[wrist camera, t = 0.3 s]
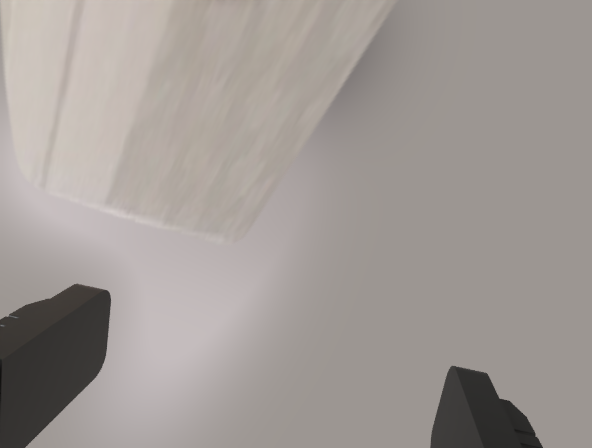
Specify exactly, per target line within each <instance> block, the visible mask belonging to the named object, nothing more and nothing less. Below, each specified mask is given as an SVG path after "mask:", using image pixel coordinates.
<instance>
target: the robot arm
mask: <svg viewBox="0 0 592 448" xmlns="http://www.w3.org/2000/svg"><path fill="white" fill-rule="evenodd" d="M110 306H111V298H110V293H109V292H108V291H107V290H103V289H99V288H94V287H89V286H84V285H79V284H74V285H72V286H71V287H69V288H67V289H66V290H64V291H62V292H61V293H59V294H57V295H56V296H54V297H52V298H51V299H45V300H42V301H39V302H35V303H31V304H28V305H25V306H23V307H22V308H20V309H18V310H16V311H15V312H13V313H11V314H9V317H4V318H2V319H1V320H0V448H25V447H26V446H27V445H28V444H29V443H30V442H31V441H32V440H33V439H34V438H35V437H36V436H37V435H38V434H39V433H40V432H41V431H42V430H43V429H44V428H45V427H46V426H47V425H48V424H49V423H50V422H51V421H52V420H53V419H54V418H55V417H56V416H57V415H58V414H59V413H60V412H61V411H62V410H63V409H64V408H65V407H66V406H67V405H68V404H69V403H70V402H71V401H72V400H73V399H74V398H75V397H76V396H77V395H78V394H79V393H80V392H81V391H82V390H83V389H84V388H85V387H86V386H87V385H88V384H89V383H90V382H92V381H93V380H94V378H95V377H96V376H97V374H98V373H99V371H100V370H101V368H102V365H103V363H104V360H105V356H106V350H107V339H108V328H109V317H110ZM431 448H543V447H542V445H541V443H540V441H539V439H538V438H537V437H535V432H534V430H533V428H532V426H531V425H530V423H529V421H528V419H527V417H526V416H525V415H524V414H523V413H521V411H519V410H518V409H517V408H516V407H515V406H514V405H513V404H512V403H511V402H510V401H507V400H503V399H499V397H498V395H497V393H496V391H495V388H494V386H493V384H492V382H491V380H490V378H489V376H488V374H487V373H484V372H479V371H475V370H470V369H465V368H460V367H456V366H451V367H450V369H449V371H448V373H447V377H446V380H445V384H444V388H443V391H442V395H441V399H440V403H439V406H438V410H437V414H436V418H435V421H434V425H433V430H432V435H431Z"/></svg>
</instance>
